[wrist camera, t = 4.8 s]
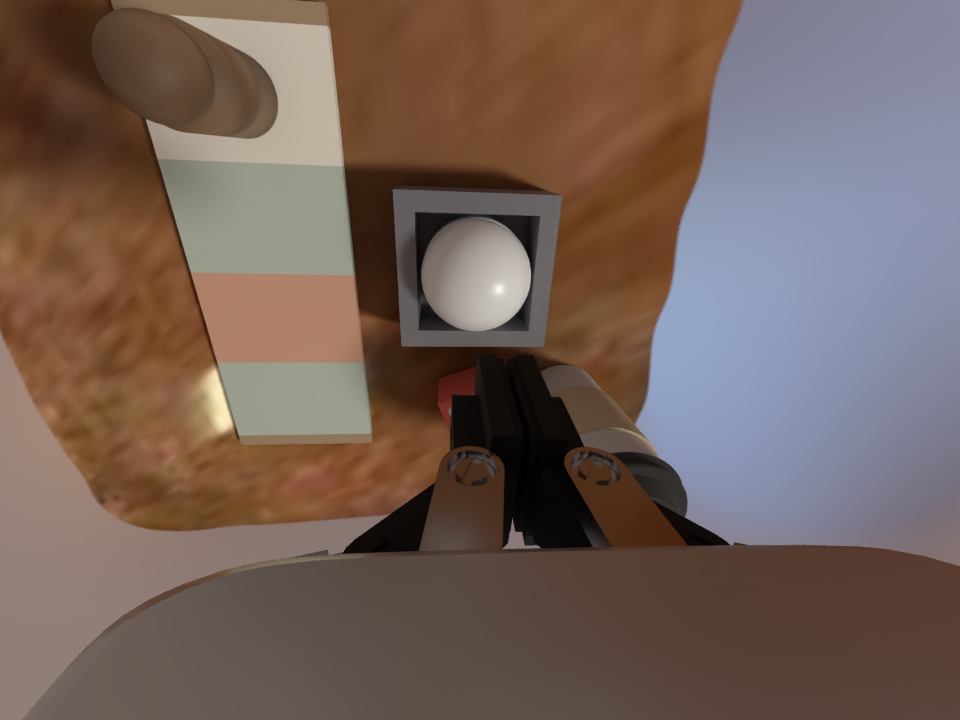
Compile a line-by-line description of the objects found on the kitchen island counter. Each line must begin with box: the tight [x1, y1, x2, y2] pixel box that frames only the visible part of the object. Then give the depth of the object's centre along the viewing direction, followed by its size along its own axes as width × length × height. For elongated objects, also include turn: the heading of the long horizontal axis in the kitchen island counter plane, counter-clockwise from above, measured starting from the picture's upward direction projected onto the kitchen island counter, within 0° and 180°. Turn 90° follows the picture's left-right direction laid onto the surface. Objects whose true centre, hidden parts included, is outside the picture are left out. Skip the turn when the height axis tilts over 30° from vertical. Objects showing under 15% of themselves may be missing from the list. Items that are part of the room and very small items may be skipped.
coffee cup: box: [541, 365, 687, 517], centre depth 28 cm, size 9×9×15 cm
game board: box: [111, 0, 373, 445], centre depth 28 cm, size 30×11×1 cm, turn 178°
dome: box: [421, 214, 531, 331], centre depth 25 cm, size 7×7×7 cm
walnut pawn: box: [91, 8, 278, 139], centre depth 19 cm, size 4×4×9 cm
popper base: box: [393, 185, 562, 347], centre depth 27 cm, size 10×10×4 cm
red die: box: [438, 366, 476, 431], centre depth 32 cm, size 4×4×4 cm
